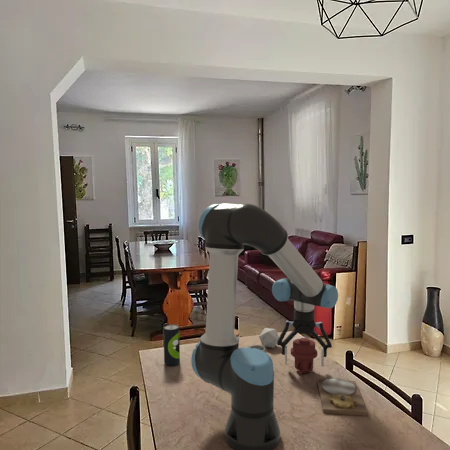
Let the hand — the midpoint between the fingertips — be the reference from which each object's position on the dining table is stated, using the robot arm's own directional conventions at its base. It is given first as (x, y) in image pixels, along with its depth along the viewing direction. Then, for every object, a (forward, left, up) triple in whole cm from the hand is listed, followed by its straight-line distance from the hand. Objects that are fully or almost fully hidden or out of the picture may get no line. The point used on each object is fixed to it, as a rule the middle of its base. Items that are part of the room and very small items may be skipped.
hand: (303, 363), depth 147 cm
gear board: (-18, -11, -3) cm, 21 cm away
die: (+23, +14, -3) cm, 27 cm away
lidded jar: (+17, +32, -3) cm, 36 cm away
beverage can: (0, +52, -3) cm, 52 cm away
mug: (+5, +19, -3) cm, 20 cm away
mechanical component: (0, 0, -3) cm, 3 cm away
